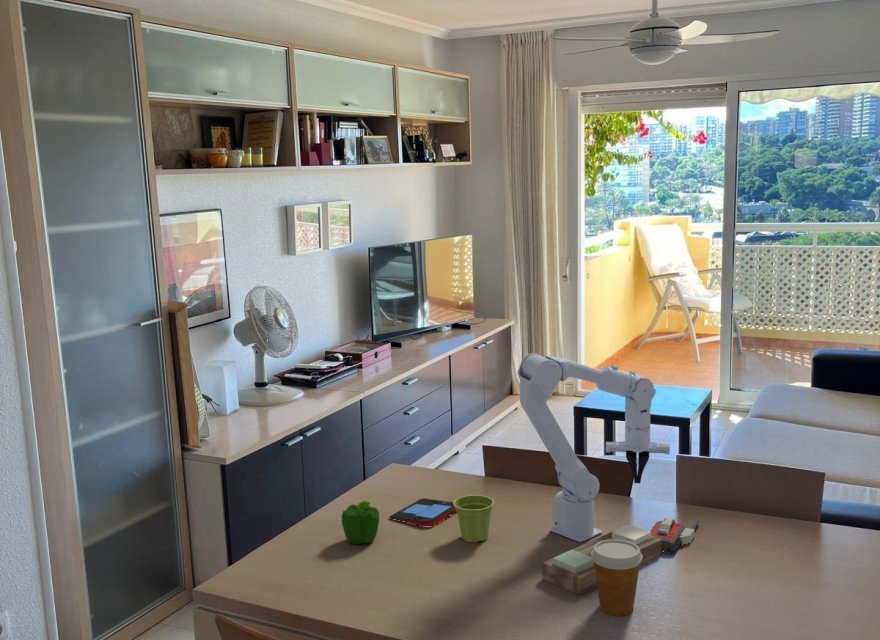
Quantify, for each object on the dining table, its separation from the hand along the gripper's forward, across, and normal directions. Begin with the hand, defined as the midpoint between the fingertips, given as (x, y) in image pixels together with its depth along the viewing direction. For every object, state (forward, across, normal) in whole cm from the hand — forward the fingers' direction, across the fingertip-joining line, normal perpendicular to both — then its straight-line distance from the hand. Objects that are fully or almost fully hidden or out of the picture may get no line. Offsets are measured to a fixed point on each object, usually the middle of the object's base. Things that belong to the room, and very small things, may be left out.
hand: (637, 481), depth 202 cm
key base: (+10, -7, -24) cm, 27 cm away
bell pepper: (+10, -62, -20) cm, 66 cm away
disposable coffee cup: (+10, -4, -42) cm, 44 cm away
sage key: (+8, -13, -32) cm, 35 cm away
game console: (+11, -51, -2) cm, 53 cm away
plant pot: (+10, -37, -14) cm, 41 cm away
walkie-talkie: (+11, +8, -7) cm, 15 cm away
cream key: (+8, -1, -17) cm, 19 cm away
